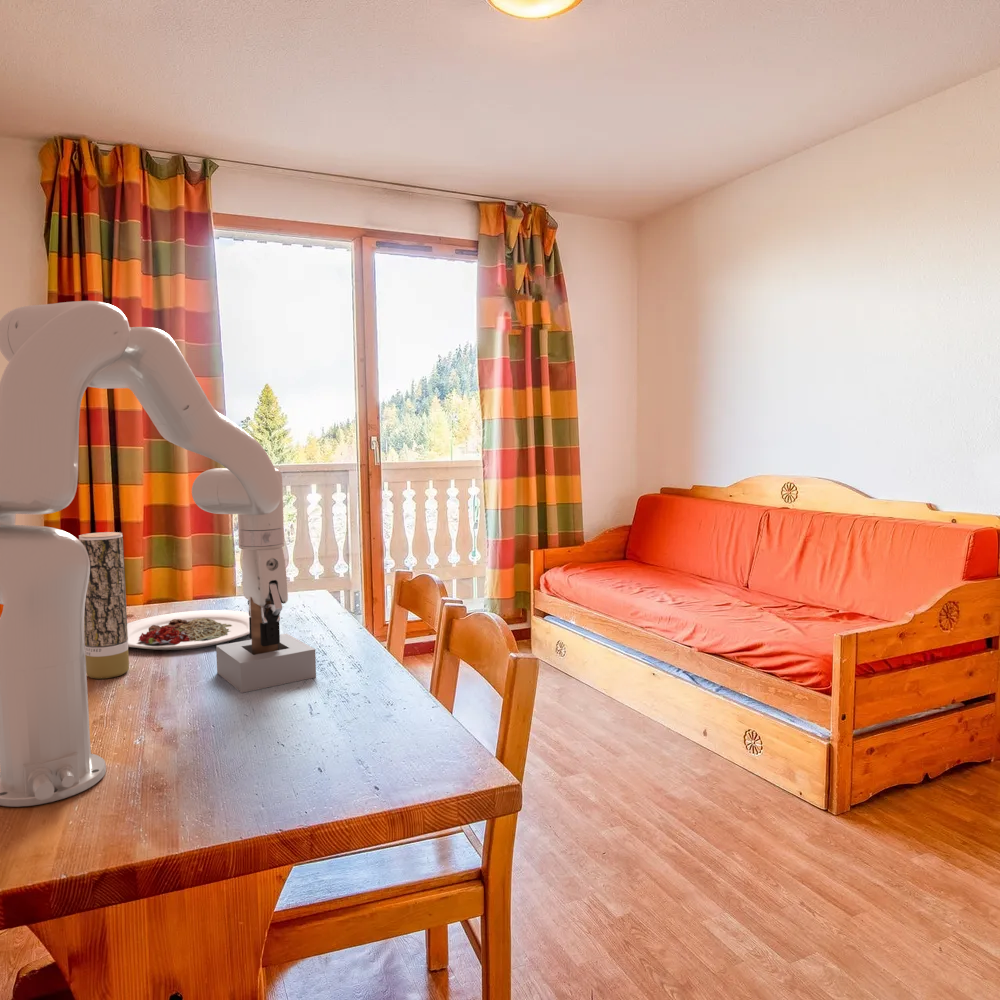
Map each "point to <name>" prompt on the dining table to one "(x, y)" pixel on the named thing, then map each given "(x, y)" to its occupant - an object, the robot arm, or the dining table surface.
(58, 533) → the robot arm
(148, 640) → the plated food
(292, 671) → the socket
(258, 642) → the peg
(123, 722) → the dining table surface
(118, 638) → the paper tube
